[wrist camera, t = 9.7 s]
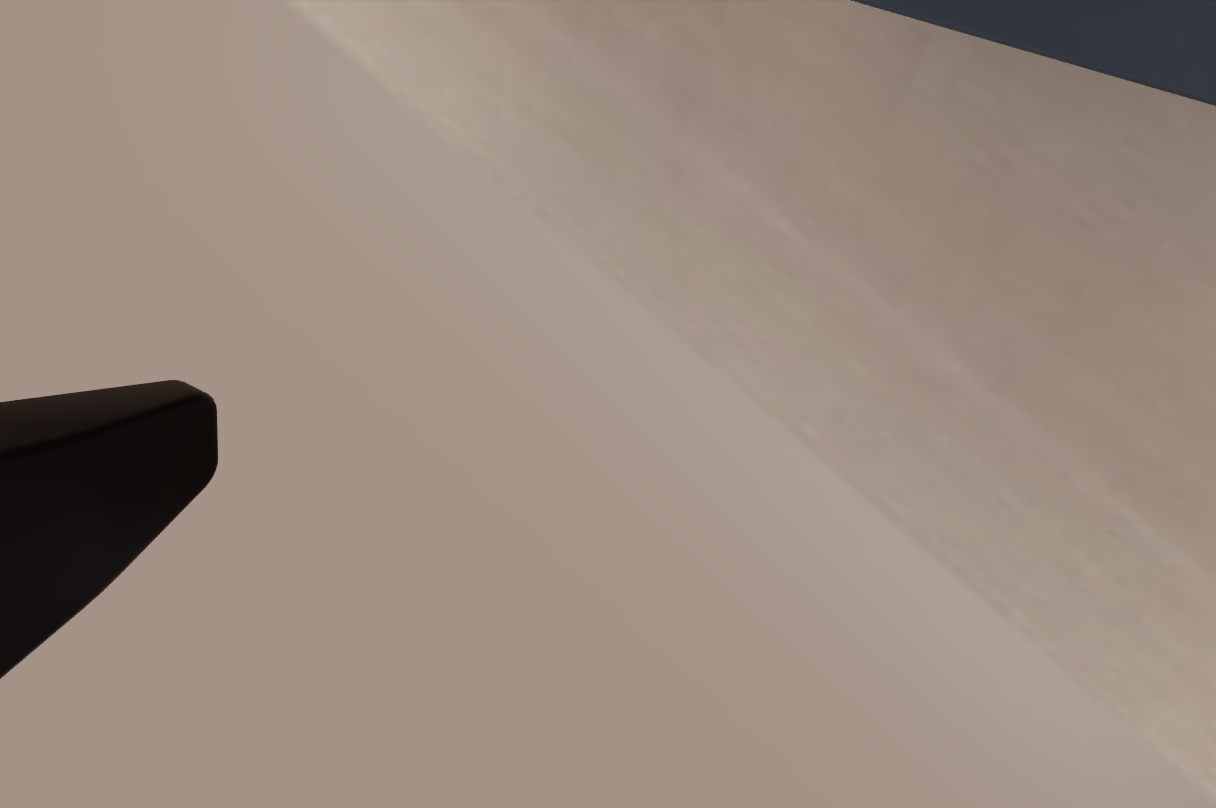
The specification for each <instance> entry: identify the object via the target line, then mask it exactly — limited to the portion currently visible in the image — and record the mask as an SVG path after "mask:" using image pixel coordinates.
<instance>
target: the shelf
mask: <svg viewBox="0 0 1216 808" xmlns="http://www.w3.org/2000/svg"><path fill="white" fill-rule="evenodd" d="M852 1H855V2H858V3H862V4H865V5H869V6H872V7H876V8H879V9H883V10H886V11H890V12H893V13H897V14H900V15H903V16H907V17H910V18H914V19H917V20H921V21H924V22H928V23H931V24H935V25H938V26H941V27H945V28H948V29H952V30H955V31H959V32H962V33H966V34H969V35H973V36H976V37H979V38H983V39H986V40H990V41H993V42H997V43H1000V44H1004V45H1007V46H1011V47H1014V48H1017V49H1021V50H1024V51H1028V52H1031V53H1035V54H1038V55H1042V56H1045V57H1049V58H1052V59H1056V60H1059V61H1062V62H1066V63H1069V64H1073V65H1076V66H1080V67H1083V68H1087V69H1090V70H1094V71H1097V72H1100V73H1104V74H1107V75H1111V76H1114V77H1118V78H1121V79H1125V80H1128V81H1132V82H1135V83H1138V84H1142V85H1145V86H1149V87H1152V88H1156V89H1159V90H1163V91H1166V92H1170V93H1173V94H1177V95H1180V96H1183V97H1187V98H1190V99H1194V100H1197V101H1201V102H1204V103H1208V104H1211V105H1215V106H1216V0H852Z"/></svg>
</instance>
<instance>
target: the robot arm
mask: <svg viewBox="0 0 1216 808" xmlns="http://www.w3.org/2000/svg"><path fill="white" fill-rule="evenodd" d="M217 464H218V441H217V409H216V404H215V402H214V400H213V398H212V397H211V396H210V395H209V394H207V393H205V392H203V391H201V390H199V389H197V388H195V387H193V386H191V385H189V384H187V383H185V382H181V381H178V380H168V381H161V382H154V383H146V384H138V385H130V386H122V387H114V388H107V389H99V390H91V391H84V392H76V393H68V394H61V395H53V396H45V397H38V398H30V399H22V400H15V401H8V402H0V679H1V678H2V677H3V676H4V675H5V674H6V673H8V672H9V671H10V670H11V669H12V668H14V667H15V666H16V665H17V664H18V663H20V662H21V661H22V660H23V659H24V658H25V657H26V656H28V655H29V654H30V653H31V652H33V651H34V650H35V649H36V648H37V647H38V646H40V645H41V644H42V643H43V642H44V641H46V640H47V639H48V638H49V637H50V636H51V635H52V634H54V633H55V632H56V631H57V630H58V629H60V628H61V627H62V626H63V625H64V624H66V623H67V622H68V621H69V620H70V619H72V618H73V617H74V616H75V615H76V614H77V613H79V612H80V611H81V610H82V609H83V608H85V606H87V605H88V604H89V603H90V602H91V601H92V600H93V599H95V598H96V597H97V596H98V595H99V594H100V593H101V592H103V591H104V589H106V588H107V586H109V584H111V583H112V582H113V581H114V580H115V579H116V578H117V577H118V576H119V575H120V574H121V573H122V572H123V571H124V570H125V569H126V568H127V567H128V566H129V565H130V564H131V563H132V562H133V561H134V560H135V559H136V558H137V556H139V555H140V553H141V552H142V551H143V550H144V549H145V548H146V547H147V546H148V545H149V544H150V543H151V542H152V541H153V540H154V539H155V538H156V537H157V536H158V535H159V534H160V533H161V532H162V531H163V530H164V529H165V528H166V527H167V526H168V525H169V524H170V523H171V521H173V520H174V519H175V517H177V516H178V515H179V513H180V512H181V511H182V510H183V509H184V508H185V507H186V506H187V505H188V504H189V503H190V502H191V501H192V500H193V499H194V498H195V497H196V496H197V495H198V494H199V493H200V492H201V491H202V490H203V489H204V488H205V487H206V485H207V484H208V483H209V482H210V480H211V479H212V477H213V475H214V473H215V471H216V468H217Z"/></svg>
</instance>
